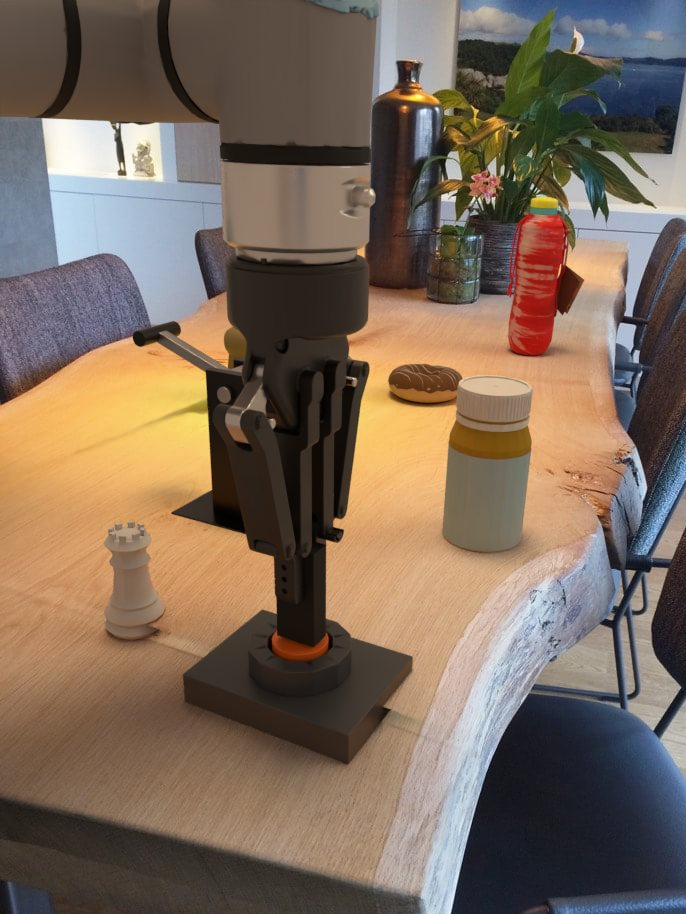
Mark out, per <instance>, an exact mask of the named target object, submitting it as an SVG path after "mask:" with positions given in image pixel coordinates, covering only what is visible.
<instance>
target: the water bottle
mask: <svg viewBox="0 0 686 914" xmlns="http://www.w3.org/2000/svg"><path fill="white" fill-rule="evenodd" d="M558 208H559V199H558V198H554V197H550V196H536V197H532V198H531V199H530V210H529V212H528V213H527V214H526V216H523V217H522V218H521V219H520V221H519V222H518V224H517V226H516V228H515V231H514V235H513V240H512V246H511V253H510V263H509V274H508V275H509V278H510V282H509V284H508V285H507V286H508V287H507V291H506V293H507V294H506V296H507V297H508V298H512V302H511V308H510V313H509V320H508V329H507V330H508V331H507V341H508V344H509V347H510V350H511V351H512V352H513V353H515V354H519V355H523V356H541V355H543V354H545V353H546V352H547V351H548V349H549V347H550V345H551V342H552V339H553V332H554V327H555V317H557V315H558V312H559V313H560V315H561V316H564V314H565V313H566V314H567V315H568V314H569V312H570V309H571V308H572V306H573V304H574V302H575V300H576V298H577V296H578V294H579V292H580V290H581V288H582V286H583V284H584V283H585V278H583V277H581V275H579V274H577V273H576V272H575V271H574V270H573V269H571V268H570V267H569V266H567V262H568V261H567V260H568V255H569V254H568V253H569V246H570V234H571V232H572V230H571V228H569V227H568V225H567V224H566V222H565V220H564V219H563V218H562V217H561V216H560V214H559V213H558ZM515 244H516V245H515ZM514 251H515V252H514ZM513 257H514V259H513ZM513 286H514V287H513ZM512 290H513V291H512ZM512 292H513V293H512ZM512 294H513V295H512Z"/></svg>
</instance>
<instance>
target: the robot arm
mask: <svg viewBox="0 0 686 914" xmlns="http://www.w3.org/2000/svg"><path fill="white" fill-rule="evenodd" d="M379 16H380V6H379V4H378V2H377V0H0V118H29V119H49V120H50V119H51V120H69V121H70V120H71V121H94V122H95V121H96V122H110V123H114V124H122V125H123V124H125V125H127V124H135V125H138V126H146V125H152V124H155V123H158V124H200V123H201V124H203V123H204V124H205V123H206V124H207V123H208V124H209V123H211V124H214V125H218V126H219V127H218V129H219V130H218V131H219V141H220V142H219V143H220V145H219V157H220V158H219V159H221V160H220V162H219V163H220V194H221V217H222V218H221V221H222V223H221V225H222V240H223V241H224V242H225V243H226V244H227V245H228V246H230V247H232V248H234V249H235V252H234V253H232V254H230V255H229V257H228V260H226V261H225V262H224V269H225V289H226V290H225V291H226V292H225V293H226V312H227V313H226V316H227V320H228V322H229V324H230V325H231V327H234V328H235V329H237V330H239V331H240V332H241V333H242V335H243V336H244V338H245V340H246V354H245V359H244V363H243V367H242V380H243V384H244V386H245V387H244V389H243V390H242V392H241V393H240V395H239V397H238V398H237V400H236V401H235V403H234V405H233V406H230V405H225V404H219V405H217V406H216V408H215V410H214V412H213V422H214V425H215V427H216V428H217V430H218V432H219V433H220V435H221V437H222V438H223V440H224V442H225V443H226V445H227V450H228V454H229V459H230V463H231V468H232V473H233V477H234V482H235V486H236V491H237V495H238V500H239V505H240V509H241V514H242V518H243V523H244V527H245V532H246V534H245V536H246V540H247V546H248V548H249V550H250V551H251V552H255V553H259V554H263V555H266V556H269V557H273V574H274V575H273V576H274V580H273V581H274V596H275V599H276V600H275V601H276V603H275V604H276V614H277V636H281V637H284V638H287V639H290V640H293V641H296V642H299V643H302V644H305V645H309V646H312V647H315V646H316V645H317V644H318V643H319V642H320V641H321V640H322V639H323V638H324V637H325V636H326V619H327V542H332V543H334V544H335V543H336V544H339V543H340V542H341V541H342V539H343V537H344V534H345V529H343V528H339V527H337V526H336V527H335V526H334V521H335V519H337V520H341V521H342V520H343V519H344V518H345V517H346V515H347V511H348V505H349V498H350V491H351V490H350V489H351V483H352V475H353V467H354V459H355V450H356V444H357V436H358V430H359V429H358V428H359V421H360V413H361V407H362V399H363V396H364V393H365V390H366V386H367V382H368V379H369V376H370V368H371V367H370V364H369V362H368V361H365V360H359V359H353V358H352V357H351V356H350V342H349V339H348V336H351V335H354V334H356V333H358V332H360V331H361V330H363V328H365V327H366V325H367V323H368V320H369V303H370V301H369V298H370V263H369V262H367V260H366V258H365V257H364V256H363V255H360V254H358V250H361V249H363V248H365V246H367V244H368V243H370V221H371V219H370V217H371V216H370V215H371V207H372V206H373V205H374V204H375V203H376V192H375V190H374V189H373V188H372V187H371V174H372V173H371V166H372V165H371V163H372V146H371V126H372V125H371V121H372V107H373V106H372V104H373V89H374V73H375V72H374V71H375V57H376V56H375V54H376V53H375V52H376V40H377V39H376V38H377V23H378V22H377V19H378V17H379Z"/></svg>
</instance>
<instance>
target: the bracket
mask: <svg viewBox="0 0 686 914" xmlns="http://www.w3.org/2000/svg"><path fill="white" fill-rule="evenodd" d="M244 359H245V358H237V359H234V360H233V366H234V368H236V367H239V366H241V365H243V363H244ZM205 385H206V387H205V388H206V405H207V420H208V421H207V422H208V440H209V441H208V442H209V443H208V444H209V456H210V457H209V458H210V459H209V460H210V478H211V489H210V490H209V491H207V492H205V493H204V494H201V495H200V496H198V497H196V498H194V499H193V500H191V501H189V502H187V503H185V504H184V505H182V506H180V507H178V508H177V509H174V510H173V511H171V512H170V515H174V516H177V517H181V518H185V519H189V520H191V521H196V522H199V523H203V524H207V525H210V526H214V527H217V528H221V529H225V530H228V531H233V532H236V533H240V534H243V535H246V532H245V527H244V523H243V518H242V514H241V509H240V505H239V500H238V495H237V491H236V486H235V482H234V477H233V473H232V468H231V463H230V459H229V454H228V450H227V445H226V443H225V442H224V440H223V438H222V437H221V435H220V433H219V432H218V430H217V428H216V427H215V425H214V422H213V412H214V410H215V408H216V406H217V405H219V404H225V405H230V406H233V405H234V403H235V401H236V400H237V398H238V397H239V395H240V393H241V392H242V390H243V389H244V387H245V386H244V384H243V380H242V372H236V371H230V370H225V369H219V368H214V367H212V368H209V369H206V372H205Z"/></svg>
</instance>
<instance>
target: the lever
mask: <svg viewBox="0 0 686 914" xmlns="http://www.w3.org/2000/svg"><path fill="white" fill-rule="evenodd" d="M181 333H182V329H181V325H180V323H178V322H177V321H175V320H173V321H168V322H164V323H160V324H157V325H153V326H149V327H146V328H141V329H138V330H135V331H134V332H133V333H132V341H133V343H134V345H135V346H137V347H139V348H143V347H147V346H149V345H152V344H156V343H157V344H159V345H160V346H162V347H163V348H166V349H167V350H169V351H170V352H172V353H173V354H174V355H177V356H179V357H180V358H182V359H183V360H185V361H187V362H188V363H190V364H191V365H192V366H195V367H196V368H198V369H200V370H201V371H202V372H204V373H206V369H209V368H212V367H214V368H219V369H225V370H230V369H229V368H228V366H225V365H224V364H222V363H221V362H219V361H218V360H216V359H214V358H213V357H211V356H210V355H207V354H206V353H205V352H203V351H201V350H199V349H197V348H196V347H194V346H192V345H191V344H189V343H188V342H187V341H184V340H183V339H181V338H180V337H179V336H180V335H181ZM242 367H243V365H241V366H239V367H236V368H233V369H231V370H230V371H236V372H242Z"/></svg>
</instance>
